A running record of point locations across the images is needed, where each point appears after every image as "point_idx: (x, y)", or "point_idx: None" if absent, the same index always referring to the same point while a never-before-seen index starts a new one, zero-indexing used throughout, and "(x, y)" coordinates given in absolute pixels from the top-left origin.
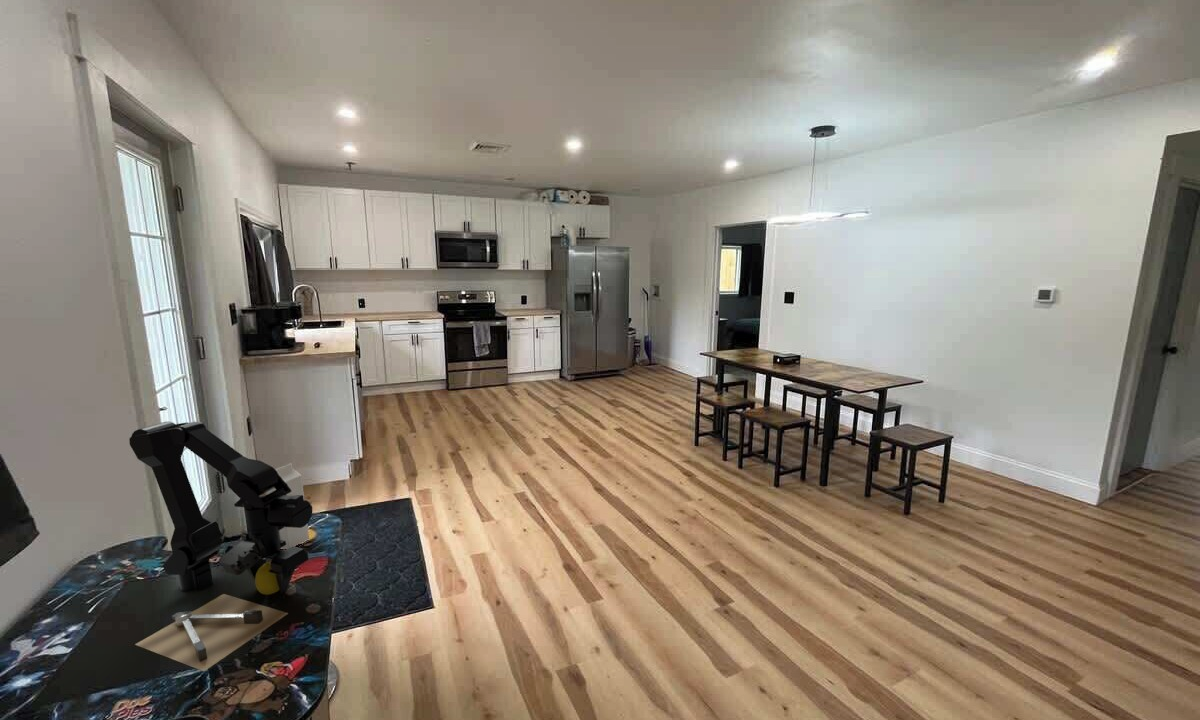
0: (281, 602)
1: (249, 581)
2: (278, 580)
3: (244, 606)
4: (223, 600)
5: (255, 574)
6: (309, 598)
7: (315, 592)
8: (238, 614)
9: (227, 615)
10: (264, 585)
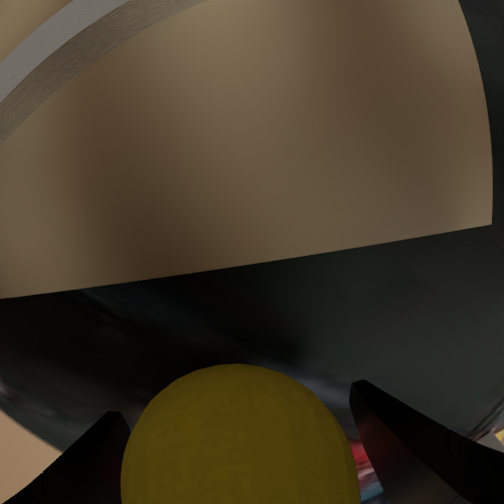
0: (99, 362)
1: (462, 351)
2: (49, 485)
3: (194, 207)
4: (443, 177)
5: (400, 452)
6: (43, 412)
7: (72, 440)
8: (2, 94)
9: (68, 22)
10: (147, 436)
